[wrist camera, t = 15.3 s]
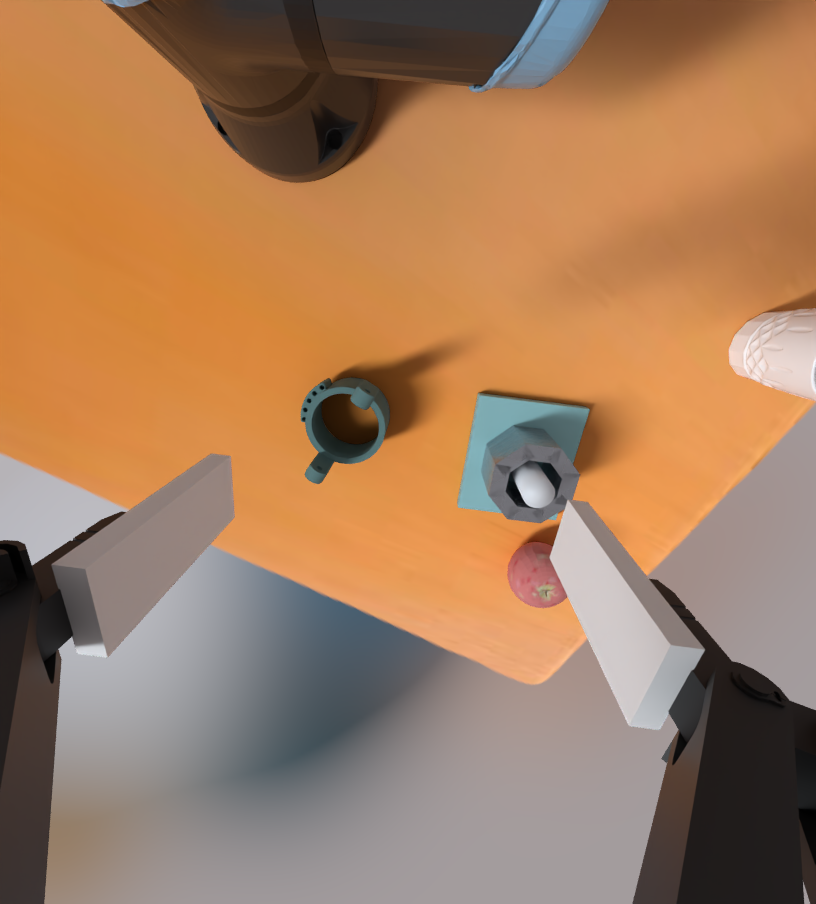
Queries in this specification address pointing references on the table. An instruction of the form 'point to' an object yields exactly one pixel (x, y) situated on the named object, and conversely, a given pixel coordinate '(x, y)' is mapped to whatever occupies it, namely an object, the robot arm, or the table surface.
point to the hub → (513, 453)
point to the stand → (529, 477)
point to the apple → (535, 576)
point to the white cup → (778, 351)
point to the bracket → (329, 444)
